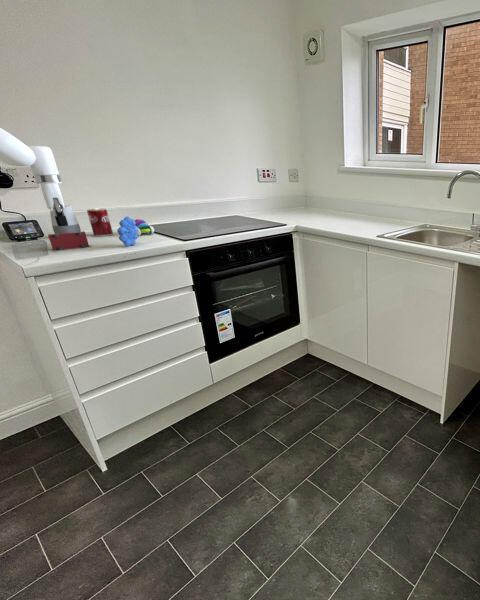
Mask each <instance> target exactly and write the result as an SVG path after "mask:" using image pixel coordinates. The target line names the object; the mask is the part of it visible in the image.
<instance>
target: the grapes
mask: <svg viewBox="0 0 480 600" xmlns="http://www.w3.org/2000/svg"><path fill="white" fill-rule="evenodd" d="M135 220H136V219H133V218H131V217H129V216H125V217H124V218H123V219H121V220H120V221H119V223H118V224H119V227H118V229H117V231H116V232H117V233H118V235H119V237H118V239H119V241H121V242H122V244H123V245H124V246H125V247H129V246H134V245H135V244H136V242H137V241H136V240H138V238H139V236H138V235H137V234H136V233H135V232H137V231H138V227H137V226H135V224H136V222H135Z"/></svg>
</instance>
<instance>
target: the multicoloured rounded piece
mask: <svg viewBox="0 0 480 600" xmlns="http://www.w3.org/2000/svg"><path fill="white" fill-rule="evenodd" d="M134 220H135V222H136V224H135V226H137V227H138V231H137V232H135V233H136V234H137V235H138V237H140V236H141V235H142V234H145V233H146V234H150V235H152V234H154V233H155V228H154V226H152V225H150V224H148V223H147V222H146V221H145V220H144V219H141V218H140V219H139V218H136V219H134Z"/></svg>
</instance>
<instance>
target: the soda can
mask: <svg viewBox="0 0 480 600" xmlns="http://www.w3.org/2000/svg"><path fill="white" fill-rule="evenodd" d="M86 213H87V216H88V220H89V223H90V227H91V230H92V234H93V236H95V237H108V236H112V235H113V233H114V232H113V228H112V224H111V221H110V217H109V212H108V209H106V208H88V209H87V210H86Z"/></svg>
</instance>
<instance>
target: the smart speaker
mask: <svg viewBox="0 0 480 600" xmlns="http://www.w3.org/2000/svg"><path fill="white" fill-rule="evenodd" d="M64 206H65V208H64V209H63V212H64V215H65V216H66V219H67V222H68V226H58V225H57V222H56V219H55V214H54V211H53V209H51V210H50V211H49V214H50V221H51V226H52V230H53V234H59V233H71V232H82V231H81V226H80V224H79V221H78V219H77V216H76V215H75V212H74V210H73V208H72V205H71V204H67V205H64Z"/></svg>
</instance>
